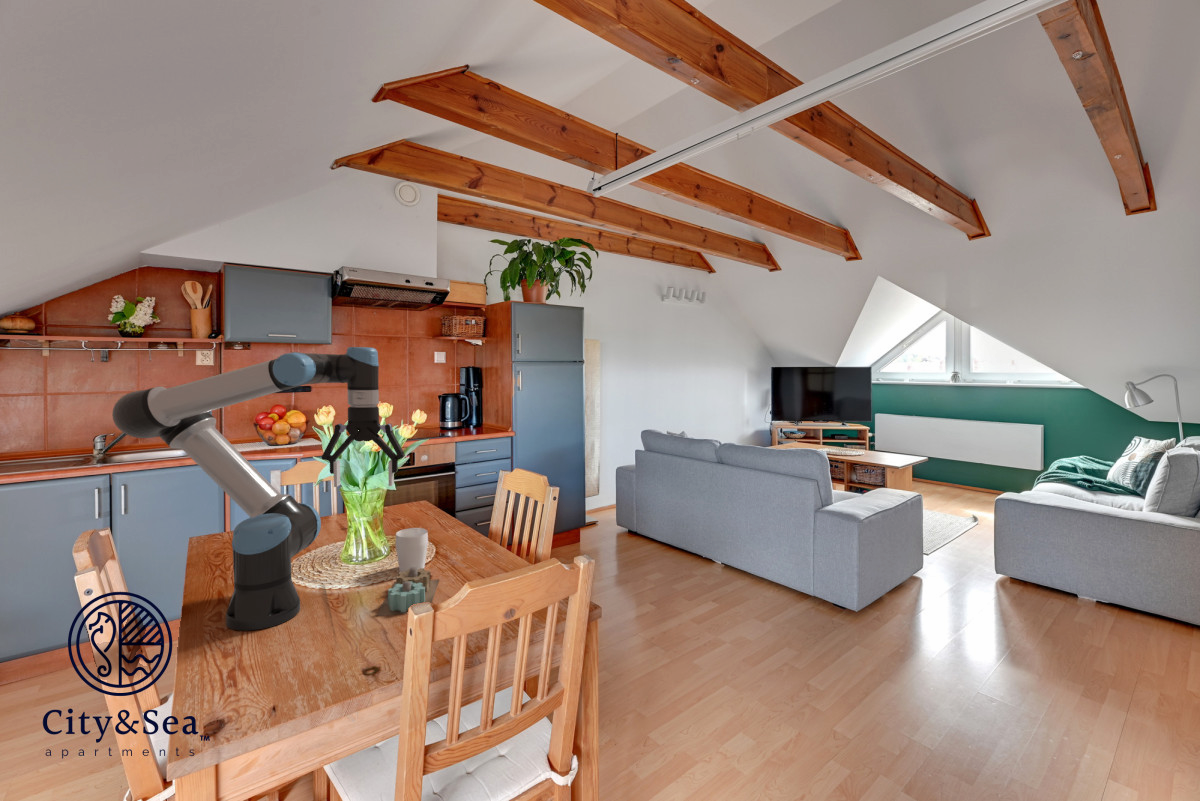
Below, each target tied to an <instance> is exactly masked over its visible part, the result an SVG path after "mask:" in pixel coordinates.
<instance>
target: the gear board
mask: <svg viewBox="0 0 1200 801" xmlns="http://www.w3.org/2000/svg"><path fill="white" fill-rule="evenodd" d="M409 573H410V577H416V576H417V568H416V567H413V568H410V569H409ZM430 582H431V586H430V587H429V590H428V591H427V592H426V591H425V602H430V603H433V600H434V597H435V595H436V591H437V589H438V586H439V583H440V579H430ZM394 585H396V580H395V581H394V582H393V583H392V585H391V588H394ZM402 585H403V592H409V591H411V581H405V582H403V583H402ZM407 612H408V610H406V612H401V610H400V611H398V610H394V611H391V610H390V606H388V594H387V595H386V597H385V599H384V600H383V602H382V604H381V606H380V608H379V610H377V613H376V615H375V616H376V617H383V616H401V615H408V614H407Z"/></svg>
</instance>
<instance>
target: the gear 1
mask: <svg viewBox="0 0 1200 801" xmlns="http://www.w3.org/2000/svg"><path fill="white" fill-rule="evenodd" d="M430 580H431V570H425V567H424V568H420V569H417V576H416V577H410V573H409V569H408V571H405V572H400V571H399V572H398V573H397V576H395V581H396V584H402V583H403V582H405V581H411V582H412V583H416V584H417V583H423V587H425V591H426V592H427V591H428V590H429V587H430V586H431V582H430Z"/></svg>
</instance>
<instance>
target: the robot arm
mask: <svg viewBox="0 0 1200 801" xmlns="http://www.w3.org/2000/svg"><path fill="white" fill-rule="evenodd" d="M378 353H379V352H378V350H377V349H376V348H374V347H368V346H367V347H366V346H350V347H347V349H346V352H345V353H344V354H341V353H340V354H335V353H334V354H331V353H311V352H309V353H306V352H305V353H304V352H296V351H293V352H287V353H283V354H281V355H279V356H278V357H277V358H275V359H270V360H267V361H263V362H259V363H256V364H252V365H248V366H246V367H241V368H238V369H235V370H234V369H233V370H231V371H226V372H223V373H220V374H217V375H213V376H209V377H205V378H201V379H197V380H194V381H191V382H188V383H184V384H180V385H175V386H172V387H167V388H166V387H164V386H155V387H151V388H148V389H141V390H135V391H130V392H129V393H126V394H125V395H123V396H121V397H120V398H119V399H118V400H117V401H116V403H115V404H114V406H113V408H112V414H111V415H112V416H111V417H112V420H113V423H114V425H115V426H116V427H117V429H118V430H119V431H120V432H122V433H123V434H125V435H126V436H129V437H132V438H138V439H151V438H160V439H161V440H162V441H163V442H164V443H165V444H166V445H167V446H168V447H169V448H170V449H173V450H175V449H177V450H179V449H180V450H182V451H183V452H185V453H186V455H187V456H189V457H190V459H191V460H193V462H194V463H195V464H196V465H197V466H198V467H199V468H201V470H203V472H205V473H206V475H208V477H209V478H211V480H213V482H214V483H216V485H217V486H218V487H220V489H221V490H223V492H225V493H226V495H227V496H228V497H229V498H231V500H233V501H234V503H235V504H237V505H238V507H240V509H241V510H242V511H243V512H244V513H245V514H246V515H248V518H246V519H244V520H243V521H241V522H239V523H238V524H236V526H235V527H234V529H233V532H232V540H231V547H232V561H233V562H232V563H233V564H232V565H233V585H234V586H233V587H234V588H233V592H232V595H231V599H230V601H229V604H228V607H227V610H226V614H225V625H226V626H227V628H229V629H231V630H235V631H241V632H242V631H246V632H247V631H257V630H262V629H268V628H271V627H275V626H277V625H280V624H284V623H285V622H287V621H289V620H291V619H293V618H294V617H296V616H297V615H298V614H299V613H300V611H301V599H300V596H299V594H298V591H297V588H296V586H295V584H294V582H293V578H292V558H293V557H294V556H296V555H298V554H299V553H300V552H302V551H303V550H305V549H307V548H308V547H309V546H310V545H312V544H313V542H314V541H315V540H316V539H317V538H318V536H319V534H320V533H321V526H322V520H321V516H320V514H319V512H318V511H317V509H315V508H314V507H313V506H312V505H310V504H307V503H301V502H298V501H297V500H296V498H294V497H293V496H292V495H291V494H282V493H280V492H279V491H278V490H277V488H275V487H274V486H273V485H272V484H271V483H270V482H269V481H268V480H267V479H266V478H265V477H264V476H263V475H262V473H260V472H259V471H258V470H257V468H255V467H254V465H252V464H251V462H249V461H248V460H247V459H246V458H245V457H244V455H243V454H241V452H240V451H239V450H237V449H236V447H235V446H233V444H232V443H231V442H230V441H229V440H228V439H227V438H226V437H225V436H224V435H223V434H222V433H221V432H220V431H219V430H218V429H217V428H216V426H217V425H216V424H217V418H215V417H214V415H213V412H212V411H215V410H219V409H221V408H222V409H223V408H226V407H230V406H233V405H236V404H240V403H243V402H246V401H250V400H254V399H257V398H261V397H264V396H267V395H271V394H275V393H278V392H282V391H285V390H286V391H287V390H290V389H293V388H298V387H300V386H301V387H302V386H306V385H314V384H316V385H317V384H340V383H341V384H346V386H347V405H349V406H348V407H347V424H342V423H337V424H335V425H334V430H333V434H332V436H331V437H330V440H329V442H328V444H327V445H326V447H325V449H324V451H323V453H322V455H321V460H324V461H325V460H326V461H328V462H329V473H330V474H331V475H333V488H337V487H339V486H341V460H339V459H338V458H340V456H341V455H342V453H344V452H345V450H346V449H347V448H348V447H349V446H350V445H351V444H352V443H353V442H354V441H356V442H363V441H364V442H370V441H373V443H375V444H376V445H377V446H378V447H379V449H381V451H382V452H383V453H384V454H385V455H386V456H387V457H388V458H389V459H390V460H389V461H388V463H387V464H388V487H392V486H393V485H394V484H395V476H394V474H395V473H398V470H399V469H398V467H399V464H398V463H399V462H398V461H399V460H402V459H403V458H404V457H405V456H406V455H405V452H404V449H403V448H402V446H401V444H400V442H399V440H398V439H397V436H396V435H395V433H394V431H393V426H392V423H388V424H381V423H380V408H379V406H378V405H379V404H380V396H379V395H380V392H379V391H380V390H379V389H380V388H379V371H380V370H379V367H380V365H379V354H378ZM358 430H359V431H358ZM381 430H382V431H383V433H385V434H386V437H387V439H388V440H389V443H390V444H391V446H392V448H393V449H392V448H391V447H390V446H389V444H387V443H386V442H385V441H384V440H383V438H382V437H381V436H380V435H379V432H380V431H381ZM345 431H347V433H348V434H349V435H348V436H347V438H346V439H345V440H344V442H342V444H341V445H340V446H339V447H338V448H337V449H336V450H335V452H334V453H333V450H334V449H335V447H336V444H337V443H338V441H339V439H340V437H341V435H342V434H343V433H344V432H345ZM332 453H333V454H332Z"/></svg>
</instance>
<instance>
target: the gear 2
mask: <svg viewBox="0 0 1200 801" xmlns="http://www.w3.org/2000/svg"><path fill="white" fill-rule="evenodd" d="M387 595H388V606H390V610H391V611H394V610H398V611H400V610H401V612H406V610H408V608H409V607H410V606H411V605H413V604H417V603H422V602H425V587H423V583H417V584H416V583H412V582H411V591H409V592H403V585H402V584H396V585H394V588H388V590H387Z"/></svg>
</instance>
